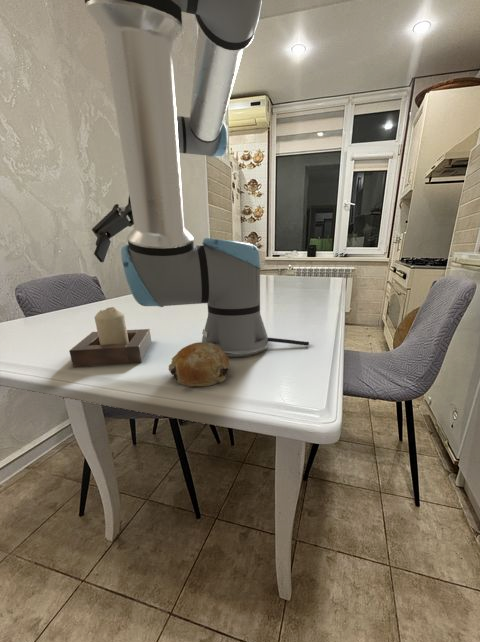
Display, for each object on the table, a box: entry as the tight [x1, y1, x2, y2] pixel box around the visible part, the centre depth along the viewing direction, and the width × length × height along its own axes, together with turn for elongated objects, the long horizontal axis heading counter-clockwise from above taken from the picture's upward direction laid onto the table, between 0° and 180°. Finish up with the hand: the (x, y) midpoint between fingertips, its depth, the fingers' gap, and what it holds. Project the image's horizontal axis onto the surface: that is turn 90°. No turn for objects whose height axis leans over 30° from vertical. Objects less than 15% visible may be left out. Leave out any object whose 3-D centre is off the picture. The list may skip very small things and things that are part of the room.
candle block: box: [68, 328, 153, 368], centre depth 63 cm, size 13×13×4 cm
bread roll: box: [168, 341, 230, 388], centre depth 52 cm, size 10×10×8 cm
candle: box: [94, 306, 129, 345], centre depth 62 cm, size 6×6×10 cm
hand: (127, 258), depth 66 cm, fingers open, 13 cm apart
